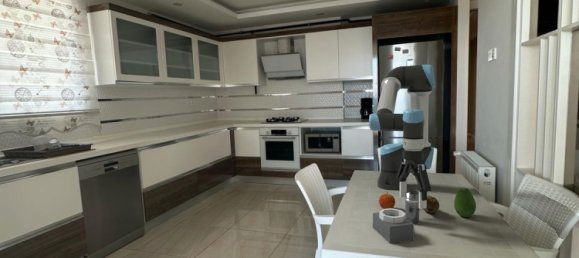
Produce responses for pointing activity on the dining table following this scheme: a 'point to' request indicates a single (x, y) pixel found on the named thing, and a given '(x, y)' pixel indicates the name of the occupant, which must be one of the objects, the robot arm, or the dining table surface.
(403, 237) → the grey block
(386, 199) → the fruit
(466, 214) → the fruit
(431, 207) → the potato
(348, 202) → the dining table surface
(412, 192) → the lens
